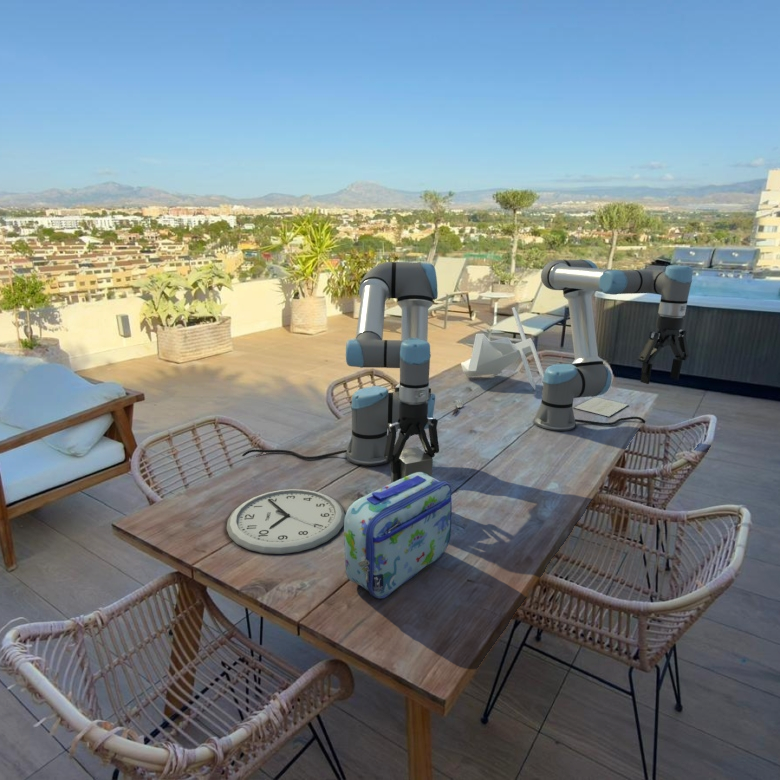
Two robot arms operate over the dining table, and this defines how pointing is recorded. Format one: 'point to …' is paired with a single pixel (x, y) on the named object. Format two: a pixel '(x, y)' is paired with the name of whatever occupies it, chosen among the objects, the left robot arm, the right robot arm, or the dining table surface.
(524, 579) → the dining table surface
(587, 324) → the right robot arm
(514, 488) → the dining table surface
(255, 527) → the wall clock
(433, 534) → the lunch box
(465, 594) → the dining table surface
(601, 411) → the invitation card
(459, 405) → the fork
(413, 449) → the block
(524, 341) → the white plastic object
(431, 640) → the dining table surface
